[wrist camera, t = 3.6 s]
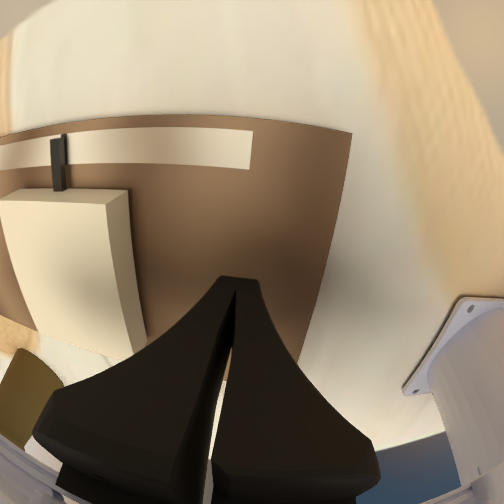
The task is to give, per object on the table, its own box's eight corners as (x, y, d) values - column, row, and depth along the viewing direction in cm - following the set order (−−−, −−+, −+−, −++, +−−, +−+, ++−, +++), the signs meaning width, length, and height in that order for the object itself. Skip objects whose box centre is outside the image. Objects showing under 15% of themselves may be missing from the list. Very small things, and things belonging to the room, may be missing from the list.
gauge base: (344, 131, 8) (353, 134, 7) (288, 372, 14) (289, 388, 13) (-58, 157, 9) (-68, 161, 8) (-26, 291, 14) (-33, 298, 13)
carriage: (126, 131, 8) (102, 136, 6) (147, 340, 12) (136, 364, 10) (16, 144, 8) (-9, 152, 6) (52, 315, 12) (38, 332, 11)
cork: (7, 340, 17) (-47, 422, 7) (50, 361, 17) (-7, 462, 7) (31, 380, 19) (-9, 455, 10) (73, 400, 19) (34, 488, 10)
